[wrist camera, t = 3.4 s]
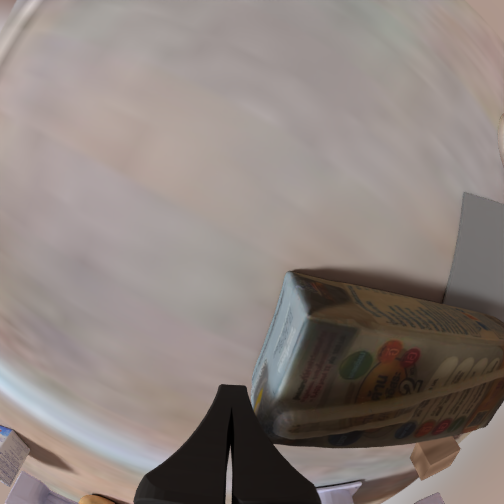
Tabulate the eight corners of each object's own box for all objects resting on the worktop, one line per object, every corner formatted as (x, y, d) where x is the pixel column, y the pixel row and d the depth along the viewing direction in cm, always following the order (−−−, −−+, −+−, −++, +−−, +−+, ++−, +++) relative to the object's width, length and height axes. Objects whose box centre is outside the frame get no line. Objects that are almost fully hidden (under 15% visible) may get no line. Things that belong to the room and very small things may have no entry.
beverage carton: (284, 257, 15) (310, 316, 8) (494, 310, 16) (543, 346, 10) (247, 374, 17) (247, 457, 10) (452, 387, 18) (487, 432, 12)
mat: (477, 408, 20) (477, 409, 20) (383, 437, 20) (383, 439, 19) (544, 220, 15) (545, 220, 14) (463, 192, 14) (465, 192, 14)
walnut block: (437, 444, 22) (450, 465, 18) (409, 457, 22) (421, 480, 18) (445, 426, 21) (460, 448, 17) (416, 440, 21) (430, 465, 17)
